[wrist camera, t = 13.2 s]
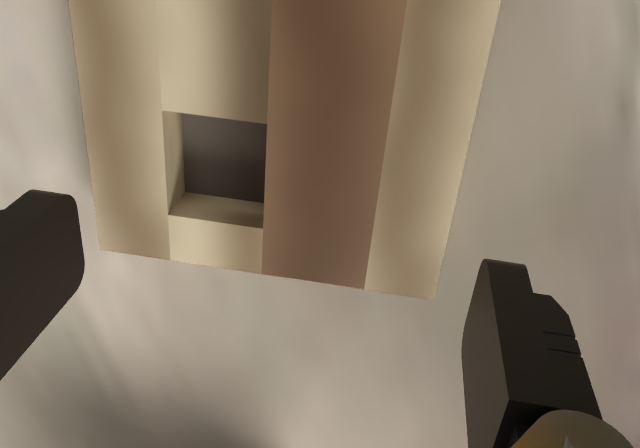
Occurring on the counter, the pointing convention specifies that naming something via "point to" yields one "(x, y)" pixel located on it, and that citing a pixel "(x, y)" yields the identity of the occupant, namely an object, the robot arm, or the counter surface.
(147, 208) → the keyhole board
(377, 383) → the counter surface
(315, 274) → the walnut bar
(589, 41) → the counter surface
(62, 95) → the counter surface
